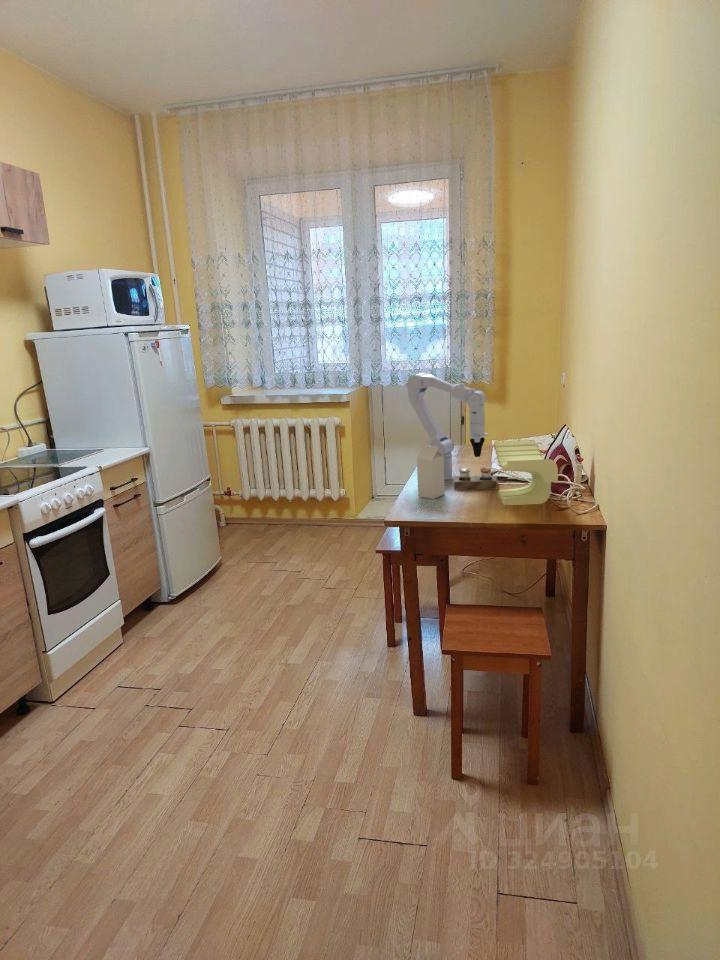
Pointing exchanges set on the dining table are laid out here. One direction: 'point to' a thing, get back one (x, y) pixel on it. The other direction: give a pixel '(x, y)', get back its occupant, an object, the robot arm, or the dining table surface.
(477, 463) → the dining table surface
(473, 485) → the console
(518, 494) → the slatted curved stool
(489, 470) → the copper push button
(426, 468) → the milk carton
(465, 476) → the grey plunger
